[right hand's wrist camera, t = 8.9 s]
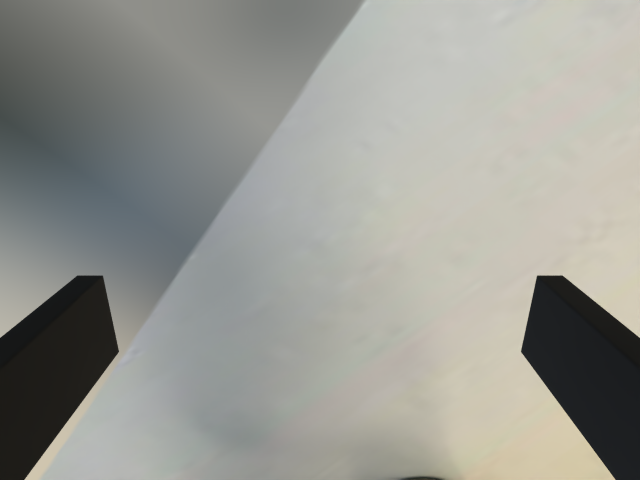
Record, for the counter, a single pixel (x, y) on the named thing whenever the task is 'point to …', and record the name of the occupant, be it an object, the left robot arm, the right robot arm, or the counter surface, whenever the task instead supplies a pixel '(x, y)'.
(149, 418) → the counter surface
